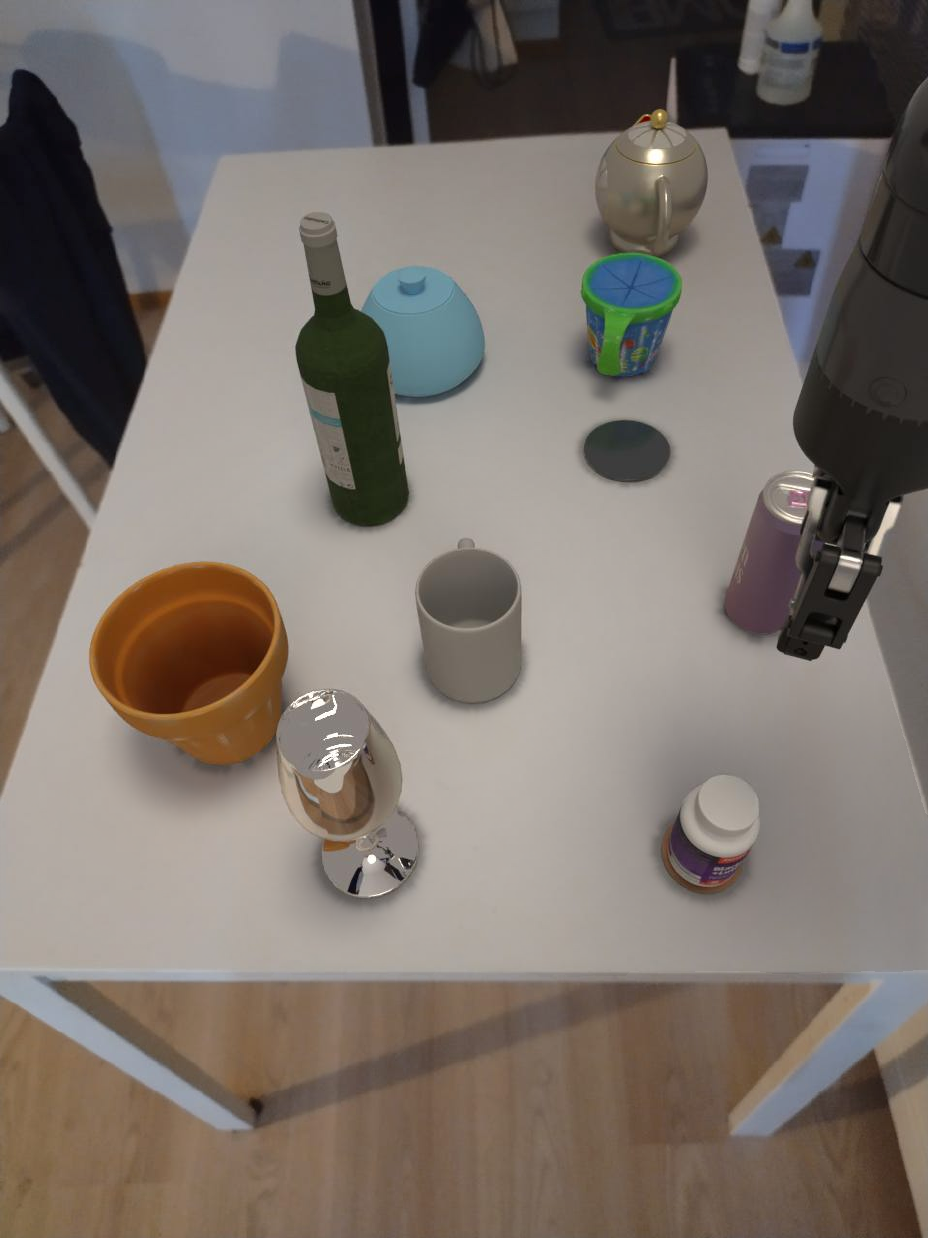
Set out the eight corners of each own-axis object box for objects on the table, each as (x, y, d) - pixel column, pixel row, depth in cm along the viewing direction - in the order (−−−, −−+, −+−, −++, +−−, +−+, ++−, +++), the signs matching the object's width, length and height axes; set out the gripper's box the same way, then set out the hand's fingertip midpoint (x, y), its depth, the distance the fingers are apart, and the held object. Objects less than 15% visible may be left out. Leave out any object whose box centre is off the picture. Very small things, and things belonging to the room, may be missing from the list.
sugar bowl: (386, 314, 106) (374, 225, 97) (502, 334, 103) (500, 244, 93) (337, 391, 98) (317, 302, 89) (460, 416, 95) (453, 326, 86)
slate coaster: (672, 426, 92) (673, 424, 92) (666, 486, 87) (666, 484, 87) (589, 417, 94) (589, 415, 94) (578, 476, 89) (578, 474, 89)
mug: (525, 700, 74) (527, 628, 65) (426, 707, 74) (414, 635, 65) (514, 590, 81) (514, 510, 72) (424, 596, 81) (412, 517, 72)
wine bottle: (424, 488, 89) (389, 208, 64) (378, 538, 85) (323, 262, 61) (363, 461, 92) (308, 182, 67) (317, 508, 88) (241, 232, 64)
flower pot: (230, 625, 80) (186, 533, 69) (346, 698, 75) (318, 611, 64) (115, 739, 74) (47, 657, 63) (234, 827, 68) (182, 754, 58)
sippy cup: (642, 413, 94) (654, 334, 85) (553, 388, 97) (556, 309, 89) (688, 331, 102) (703, 251, 93) (604, 310, 105) (612, 231, 96)
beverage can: (792, 641, 76) (845, 528, 64) (723, 634, 77) (762, 521, 64) (788, 587, 79) (838, 471, 67) (722, 581, 80) (759, 465, 68)
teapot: (584, 214, 117) (593, 84, 104) (685, 207, 117) (706, 76, 103) (601, 293, 107) (613, 159, 93) (711, 286, 106) (739, 151, 93)
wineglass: (309, 893, 65) (240, 782, 49) (332, 797, 69) (275, 666, 53) (411, 906, 64) (374, 797, 48) (427, 808, 69) (399, 678, 52)
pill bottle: (711, 904, 63) (739, 857, 55) (651, 854, 65) (670, 803, 57) (753, 852, 65) (786, 800, 57) (694, 805, 67) (718, 749, 59)
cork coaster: (743, 824, 66) (744, 823, 66) (740, 900, 63) (741, 899, 63) (664, 810, 67) (665, 809, 67) (658, 885, 64) (658, 883, 64)
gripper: (1009, 494, 31) (863, 715, 44) (1016, 269, 38) (890, 516, 51) (792, 450, 32) (715, 675, 46) (839, 243, 40) (761, 488, 53)
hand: (807, 590), depth 48 cm, fingers open, 8 cm apart
